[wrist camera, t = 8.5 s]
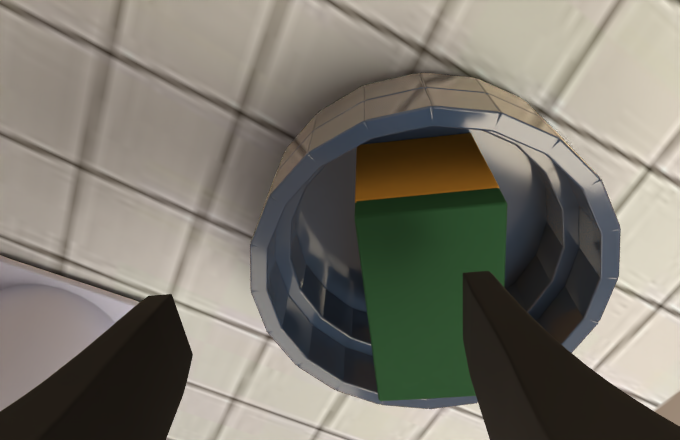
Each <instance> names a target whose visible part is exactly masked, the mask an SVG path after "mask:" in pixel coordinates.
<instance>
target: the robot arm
mask: <svg viewBox="0 0 680 440" xmlns="http://www.w3.org/2000/svg"><path fill="white" fill-rule="evenodd" d="M463 342H464V347H465V353H466V358H467V363H468V368H469V373H470V378H471V381H472V384H473V387H474V390H475V394H476V397H477V400H478V403H479V406H480V410H481V413H482V416H483V419H484V422H485V425H486V428H487V431H488V435H489V438H490V440H680V426H678V425H676V424H674V423H673V422H671V421H669V420H667V419H666V418H664V417H662V416H661V415H659V414H657V413H656V412H654V411H652V410H651V409H649V408H648V407H646V406H644V405H643V404H641V403H640V402H638V401H637V400H635V399H633V398H632V397H630V396H629V395H627V394H626V393H624V392H622V391H621V390H620V389H618V388H617V387H615V386H614V385H612V384H611V383H609V382H608V381H607V380H605V379H604V378H603V377H601V376H600V375H598V374H597V373H596V372H594V371H593V370H592V369H590V368H589V367H588V366H586V365H585V364H584V363H583V362H581V361H580V360H579V359H578V358H577V357H575V356H574V355H573V354H572V353H571V352H569V351H568V350H567V349H566V348H565V347H564V346H563V345H561V344H560V343H559V342H558V341H557V340H556V339H555V338H554V337H552V336H551V335H550V334H549V333H548V332H547V331H546V330H545V329H544V328H543V327H542V326H541V325H540V324H539V323H538V322H537V321H536V320H535V319H534V318H533V317H532V316H531V315H530V314H529V313H528V312H527V311H526V310H525V309H524V308H523V307H522V306H521V305H520V304H519V303H518V302H517V301H516V300H515V299H514V298H513V297H512V295H511V294H510V293H509V292H508V291H507V290H506V289H505V288H504V286H503V285H502V284H501V283H500V282H499V281H498V280H497V278H496V277H495V276H494V275H493V274H492V273H491V272H490V271H480V272H466V273H463ZM192 356H193V354H192V351H191V348H190V345H189V342H188V340H187V337H186V334H185V331H184V328H183V325H182V322H181V320H180V317H179V314H178V311H177V308H176V305H175V302H174V300H173V297H172V294H167V295H154V296H148V297H146V298H145V299H144V300H142V301H141V302H139V301H136V300H133V299H130V298H127V297H124V296H121V295H118V294H115V293H112V292H109V291H106V290H103V289H100V288H97V287H94V286H91V285H87V284H84V283H81V282H78V281H75V280H72V279H69V278H66V277H63V276H60V275H57V274H54V273H51V272H48V271H45V270H42V269H39V268H36V267H33V266H30V265H27V264H24V263H21V262H18V261H15V260H12V259H9V258H6V257H3V256H0V440H166V437H167V435H168V432H169V430H170V427H171V425H172V422H173V420H174V417H175V414H176V412H177V409H178V407H179V404H180V401H181V399H182V396H183V393H184V390H185V386H186V382H187V378H188V374H189V369H190V365H191V360H192Z"/></svg>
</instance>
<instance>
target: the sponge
mask: <svg viewBox="0 0 680 440" xmlns="http://www.w3.org/2000/svg"><path fill="white" fill-rule="evenodd" d="M354 218H355V226H356V233H357V241H358V248H359V256H360V264H361V271H362V279H363V286H364V294H365V301H366V309H367V316H368V324H369V331H370V339H371V346H372V354H373V362H374V369H375V377H376V384H377V392H378V399H379V401H396V400H413V399H431V398H449V397H466V396H476V394H475V390H474V387H473V384H472V381H471V378H470V373H469V368H468V363H467V358H466V353H465V347H464V342H463V273H466V272H480V271H490V272H491V273H492V274H493V275H494V276H495V277H496V278H497V280H498V281H499V282H500V283H501V284H502V285H503V286H504V287H505V259H506V230H507V202H506V200H505V198H504V196H503V194H502V192H501V190H500V189H499V186H498V184H497V182H496V180H495V178H494V176H493V174H492V173H491V171H490V169H489V167H488V165H487V163H486V161H485V159H484V157H483V155H482V153H481V152H480V150H479V148H478V146H477V144H476V142H475V140H474V138H473V136H472V134H471V133H466V134H457V135H447V136H438V137H429V138H419V139H410V140H401V141H391V142H382V143H373V144H363V145H360V146H358V147H357V154H356V184H355V217H354Z"/></svg>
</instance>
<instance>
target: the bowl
mask: <svg viewBox="0 0 680 440" xmlns="http://www.w3.org/2000/svg"><path fill="white" fill-rule="evenodd" d="M466 133H471V134H472V136H473V138H474V140H475V142H476V144H477V146H478V148H479V150H480V152H481V153H482V155H483V157H484V159H485V161H486V163H487V165H488V167H489V169H490V171H491V173H492V174H493V176H494V178H495V180H496V182H497V184H498V186H499V189H500V190H501V192H502V194H503V196H504V198H505V200H506V202H507V230H506V259H505V287H504V288H505V289H506V290H507V291H508V292H509V293H510V294H511V295H512V297H513V298H514V299H515V300H516V301H517V302H518V303H519V304H520V305H521V306H522V307H523V308H524V309H525V310H526V311H527V312H528V313H529V314H530V315H531V316H532V317H533V318H534V319H535V320H536V321H537V322H538V323H539V324H540V325H541V326H542V327H543V328H544V329H545V330H546V331H547V332H548V333H549V334H550V335H551V336H552V337H554V338H555V339H556V340H557V341H558V342H559V343H560V344H561V345H563V346H564V347H565V348H566V349H567V350H568V351H569V352H571V353H572V352H573V351H574V350H575V349H576V348H577V346H578V345H579V344H580V343H581V342H582V341H583V340H584V339H585V337H586V336H587V335H588V334H589V333H590V332H591V331H592V330H593V328H594V327H595V326H596V325H597V324H598V321H600V319H601V317H602V314H603V312H604V310H605V307H606V305H607V303H608V301H609V298H610V296H611V294H612V291H613V289H614V287H615V284H616V282H617V280H618V277H619V259H620V230H621V229H620V224H619V222H618V219H617V217H616V214H615V212H614V209H613V207H612V204H611V202H610V199H609V197H608V194H607V192H606V189H605V187H604V184H603V182H602V180H601V179H600V177H599V176H598V175H597V174H596V173H595V172H594V171H593V170H592V169H591V168H590V166H589V165H588V164H587V163H586V162H585V161H584V160H583V159H582V158H581V157H580V156H579V155H578V154H577V153H576V152H575V151H574V150H573V149H572V148H571V147H570V145H569V144H568V143H567V142H566V141H565V140H564V139H563V138H562V137H561V136H560V135H559V134H558V133H557V132H556V131H555V130H554V129H553V128H552V127H551V126H550V125H549V124H548V123H547V122H546V121H545V120H544V119H543V118H542V117H541V116H540V115H539V114H538V113H537V112H536V111H535V110H534V109H533V108H532V107H531V106H530V105H529V104H528V103H527V102H526V101H524V100H523V99H522V98H520V97H517V96H515V95H513V94H511V93H509V92H506V91H504V90H502V89H500V88H497V87H495V86H493V85H491V84H489V83H486V82H484V81H482V80H480V79H477V78H473V77H464V76H453V75H442V74H431V73H420V74H419V73H415V74H411V75H406V76H402V77H397V78H393V79H388V80H384V81H380V82H375V83H371V84H367V85H365V86H361V87H360V88H358V89H356V90H355V91H353V92H351V93H349V94H348V95H346V96H344V97H343V98H341V99H339V100H338V101H336V102H334V103H333V104H331V105H329V106H327V107H326V108H324V109H322V110H321V111H319V112H318V114H316V115H315V116H314V117H313V118H312V120H311V121H310V122H309V123H308V124H307V125H306V127H305V128H304V129H303V130H302V131H301V132H300V133H299V135H298V136H297V137H296V138H295V139H294V140H293V142H292V143H291V144H290V145H289V146H288V147H287V148H286V151H285V152H284V154H283V157H282V159H281V162H280V164H279V167H278V170H277V172H276V175H275V177H274V180H273V182H272V185H271V188H270V190H269V193H268V196H267V198H266V201H265V204H264V207H263V210H262V212H261V215H260V218H259V221H258V223H257V226H256V229H255V232H254V234H253V237H252V240H251V244H250V281H251V293H252V295H253V298H254V300H255V303H256V305H257V308H258V310H259V313H260V315H261V318H262V320H263V323H264V325H265V328H266V330H267V332H268V334H269V335H270V336H271V337H272V338H273V339H274V341H275V342H276V343H277V344H278V345H279V346H280V347H281V349H282V350H283V351H284V352H285V353H286V354H287V355H288V357H289V358H290V359H291V360H292V361H293V362H294V363H295V365H298V367H299V368H301V369H302V370H304V371H306V372H307V373H309V374H310V375H312V376H314V377H315V378H317V379H318V380H320V381H321V382H323V383H325V384H326V385H328V386H329V387H331V388H333V389H334V390H337V391H339V392H342V393H345V394H348V395H351V396H354V397H357V398H361V399H364V400H367V401H370V402H373V403H376V404H381V405H387V406H399V407H410V408H421V409H428V408H429V409H435V408H443V407H451V406H459V405H467V404H474V403H477V402H478V400H477V397H476V396H466V397H449V398H431V399H413V400H396V401H379V399H378V392H377V384H376V377H375V369H374V362H373V354H372V346H371V339H370V331H369V324H368V316H367V309H366V301H365V294H364V286H363V279H362V271H361V264H360V256H359V248H358V241H357V233H356V226H355V218H354V217H355V184H356V154H357V147H358V146H360V145H363V144H373V143H382V142H391V141H401V140H410V139H419V138H429V137H438V136H447V135H457V134H466Z"/></svg>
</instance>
